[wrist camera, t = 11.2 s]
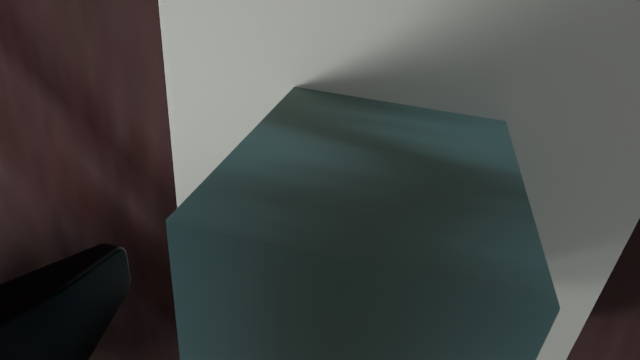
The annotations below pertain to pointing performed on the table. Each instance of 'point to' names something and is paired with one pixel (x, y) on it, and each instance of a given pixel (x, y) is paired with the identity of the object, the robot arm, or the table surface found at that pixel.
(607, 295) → the table surface
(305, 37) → the base block
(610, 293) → the table surface
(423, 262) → the teal block
